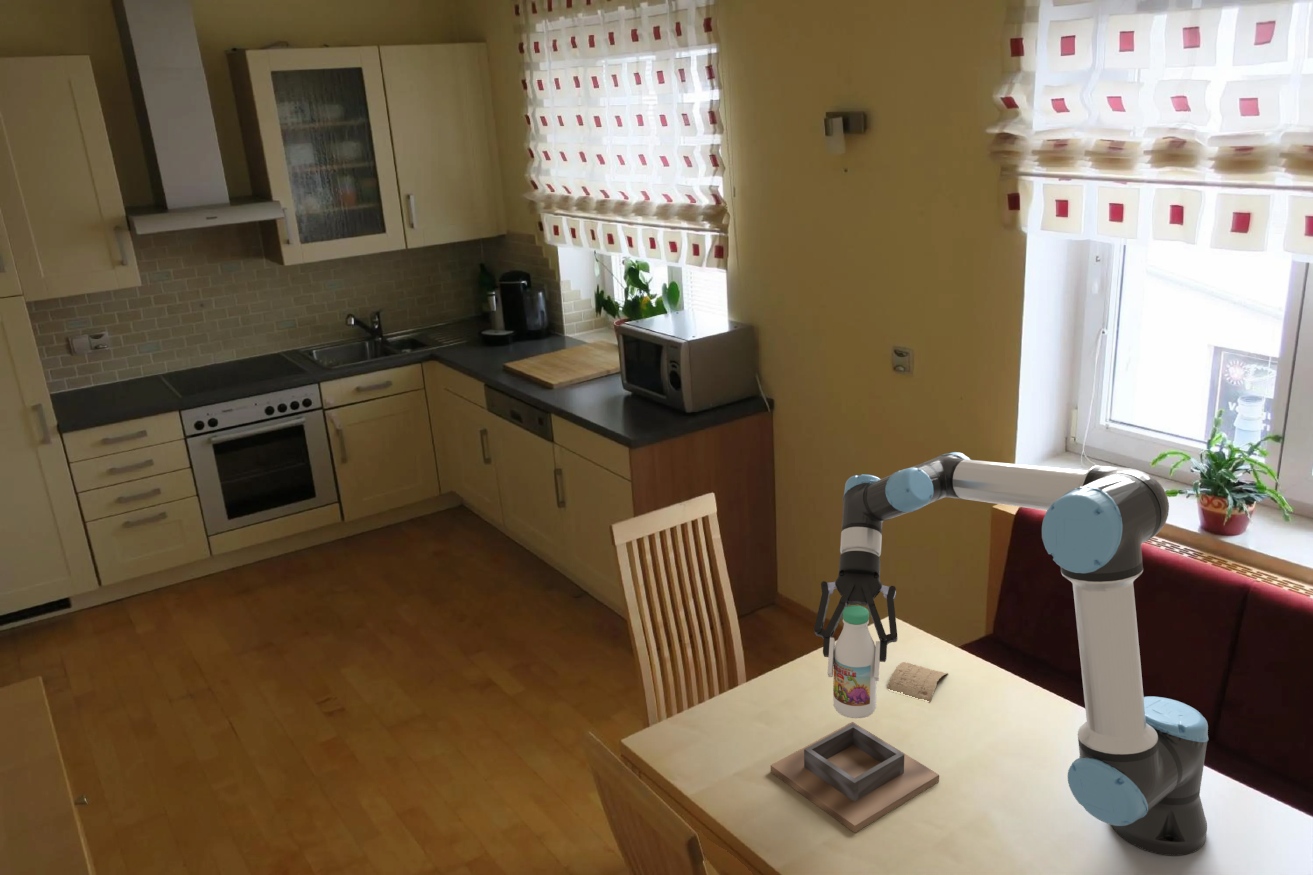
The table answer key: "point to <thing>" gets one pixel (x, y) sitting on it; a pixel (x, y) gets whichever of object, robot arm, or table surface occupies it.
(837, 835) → the table surface
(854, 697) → the milk bottle
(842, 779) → the bottle stand
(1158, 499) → the robot arm
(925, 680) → the clay tablet
